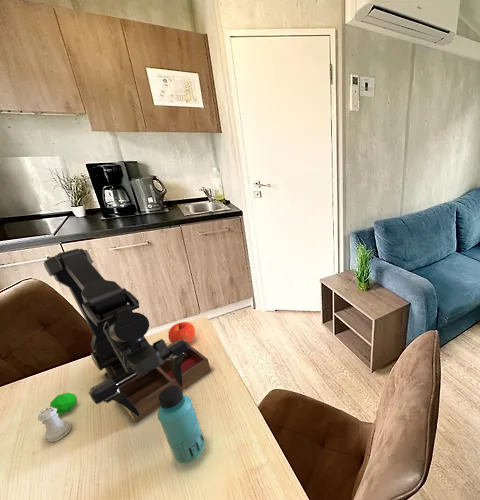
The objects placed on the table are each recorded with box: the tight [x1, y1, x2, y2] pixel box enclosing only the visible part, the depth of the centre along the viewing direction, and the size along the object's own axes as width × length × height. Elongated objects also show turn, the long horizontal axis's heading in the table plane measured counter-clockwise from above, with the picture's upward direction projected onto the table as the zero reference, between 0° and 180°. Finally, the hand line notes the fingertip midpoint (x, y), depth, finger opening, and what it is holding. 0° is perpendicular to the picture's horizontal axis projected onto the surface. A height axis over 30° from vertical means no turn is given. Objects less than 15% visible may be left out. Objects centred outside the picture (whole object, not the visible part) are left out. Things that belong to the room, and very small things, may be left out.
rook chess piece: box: [37, 406, 72, 443], centre depth 68 cm, size 4×4×8 cm
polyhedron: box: [49, 392, 78, 415], centre depth 74 cm, size 5×5×5 cm
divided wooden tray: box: [118, 344, 212, 424], centre depth 81 cm, size 11×20×5 cm, turn 146°
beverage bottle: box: [157, 386, 206, 465], centre depth 62 cm, size 6×7×20 cm
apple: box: [167, 321, 196, 345], centre depth 97 cm, size 8×8×8 cm
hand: (161, 400), depth 65 cm, fingers open, 9 cm apart
